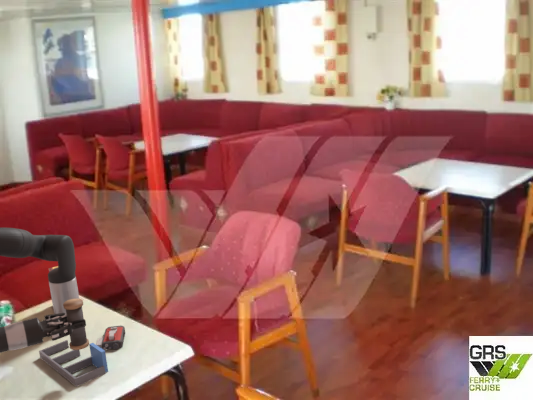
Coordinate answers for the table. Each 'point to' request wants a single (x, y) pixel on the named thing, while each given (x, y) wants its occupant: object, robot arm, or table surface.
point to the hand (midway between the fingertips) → (83, 319)
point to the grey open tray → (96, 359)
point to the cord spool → (75, 314)
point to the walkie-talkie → (112, 338)
